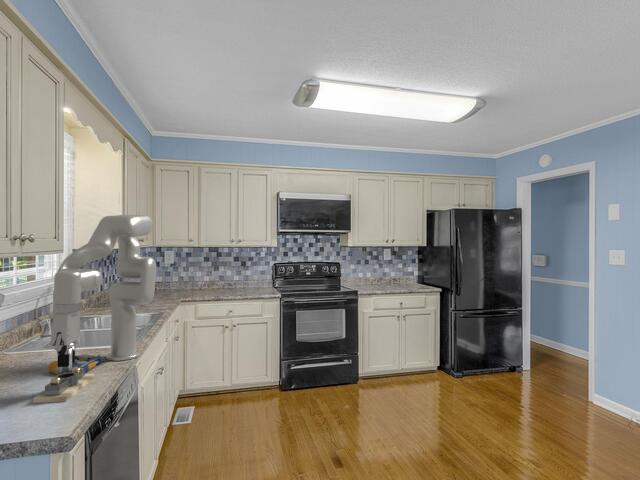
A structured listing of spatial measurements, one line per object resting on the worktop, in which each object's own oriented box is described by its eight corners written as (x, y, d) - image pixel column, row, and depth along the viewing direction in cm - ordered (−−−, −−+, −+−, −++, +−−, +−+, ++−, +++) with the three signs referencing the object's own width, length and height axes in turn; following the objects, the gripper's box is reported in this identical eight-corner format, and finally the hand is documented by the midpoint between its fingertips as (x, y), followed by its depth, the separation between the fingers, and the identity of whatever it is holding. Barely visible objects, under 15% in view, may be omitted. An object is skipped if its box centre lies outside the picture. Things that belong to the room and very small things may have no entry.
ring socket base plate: (65, 379, 131) (66, 362, 131) (93, 377, 133) (94, 360, 133) (33, 403, 111) (33, 382, 111) (66, 401, 113) (67, 381, 113)
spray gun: (35, 379, 131) (79, 379, 132) (35, 367, 131) (80, 367, 132) (70, 362, 152) (108, 362, 153) (71, 352, 152) (109, 352, 153)
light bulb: (62, 369, 123) (62, 342, 124) (76, 368, 124) (76, 341, 124) (55, 373, 119) (56, 345, 120) (70, 372, 120) (70, 344, 120)
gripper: (67, 305, 130) (65, 358, 129) (40, 313, 113) (39, 373, 113) (90, 304, 131) (89, 357, 131) (68, 312, 115) (66, 372, 114)
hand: (66, 364), depth 122 cm, fingers closed on light bulb, 3 cm apart
